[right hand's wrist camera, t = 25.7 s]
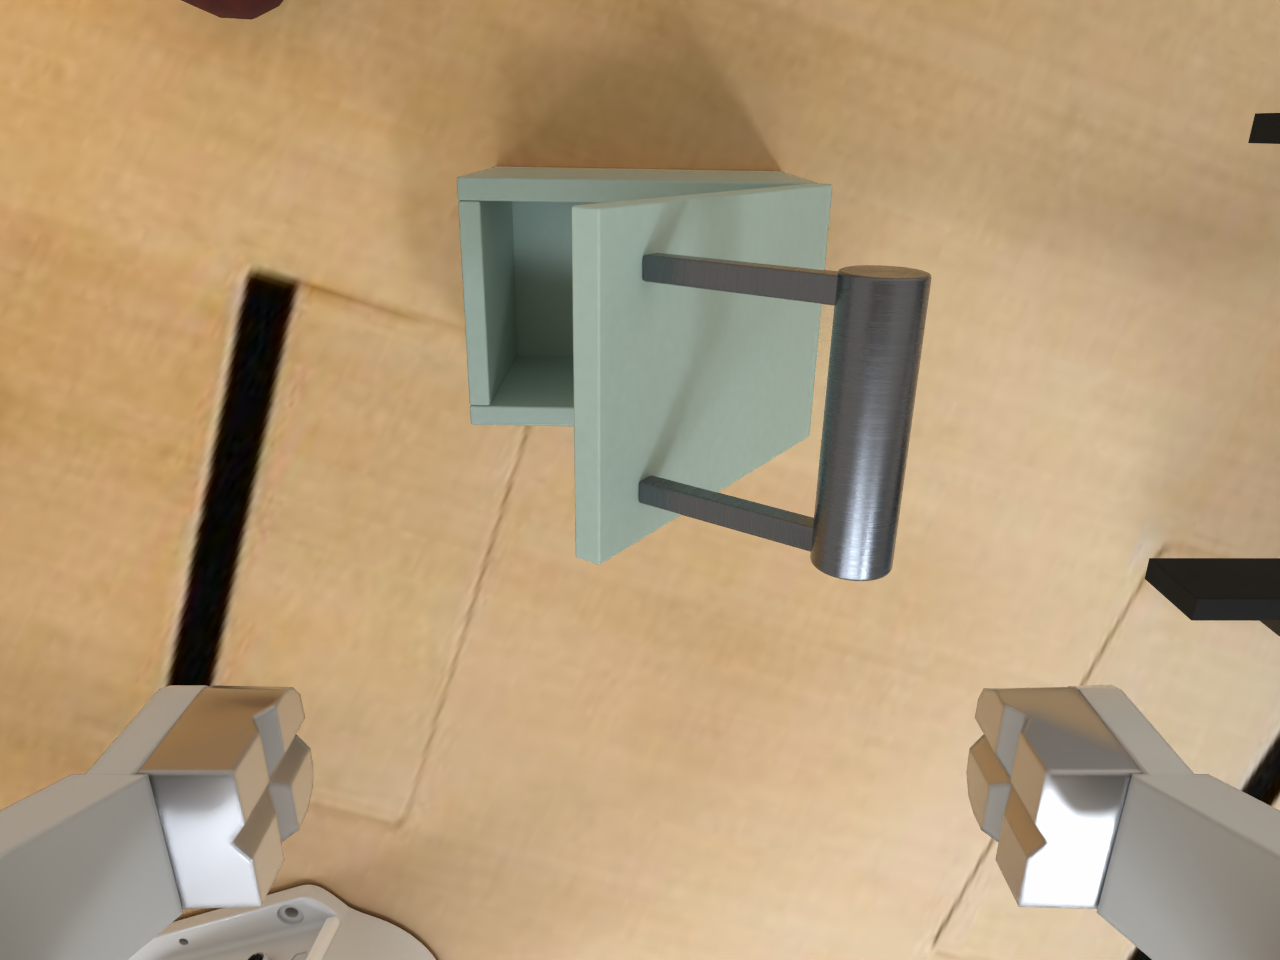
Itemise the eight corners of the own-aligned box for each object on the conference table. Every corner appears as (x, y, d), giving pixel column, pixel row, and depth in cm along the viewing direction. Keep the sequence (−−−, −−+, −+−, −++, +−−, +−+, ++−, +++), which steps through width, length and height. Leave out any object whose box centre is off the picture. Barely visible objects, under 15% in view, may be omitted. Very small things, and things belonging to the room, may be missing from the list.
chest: (503, 367, 45) (470, 425, 36) (495, 166, 42) (455, 176, 33) (767, 371, 45) (798, 430, 37) (781, 171, 42) (819, 182, 33)
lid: (574, 557, 25) (851, 651, 21) (570, 205, 22) (902, 231, 17) (789, 432, 36) (1001, 477, 32) (810, 183, 33) (1052, 195, 28)
